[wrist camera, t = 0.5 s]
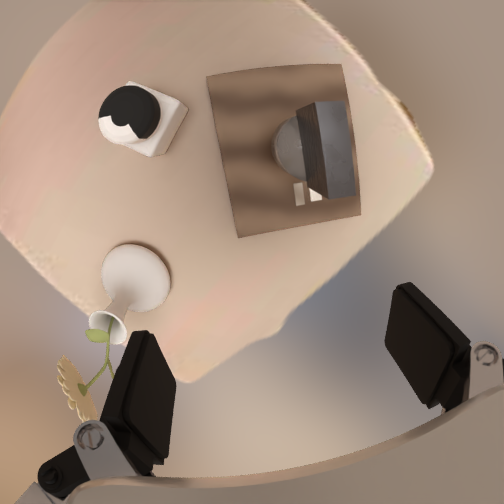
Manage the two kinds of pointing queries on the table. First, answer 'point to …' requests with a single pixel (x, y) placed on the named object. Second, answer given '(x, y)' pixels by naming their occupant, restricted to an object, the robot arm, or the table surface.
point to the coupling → (317, 150)
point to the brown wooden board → (259, 144)
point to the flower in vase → (116, 313)
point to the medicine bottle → (141, 118)
